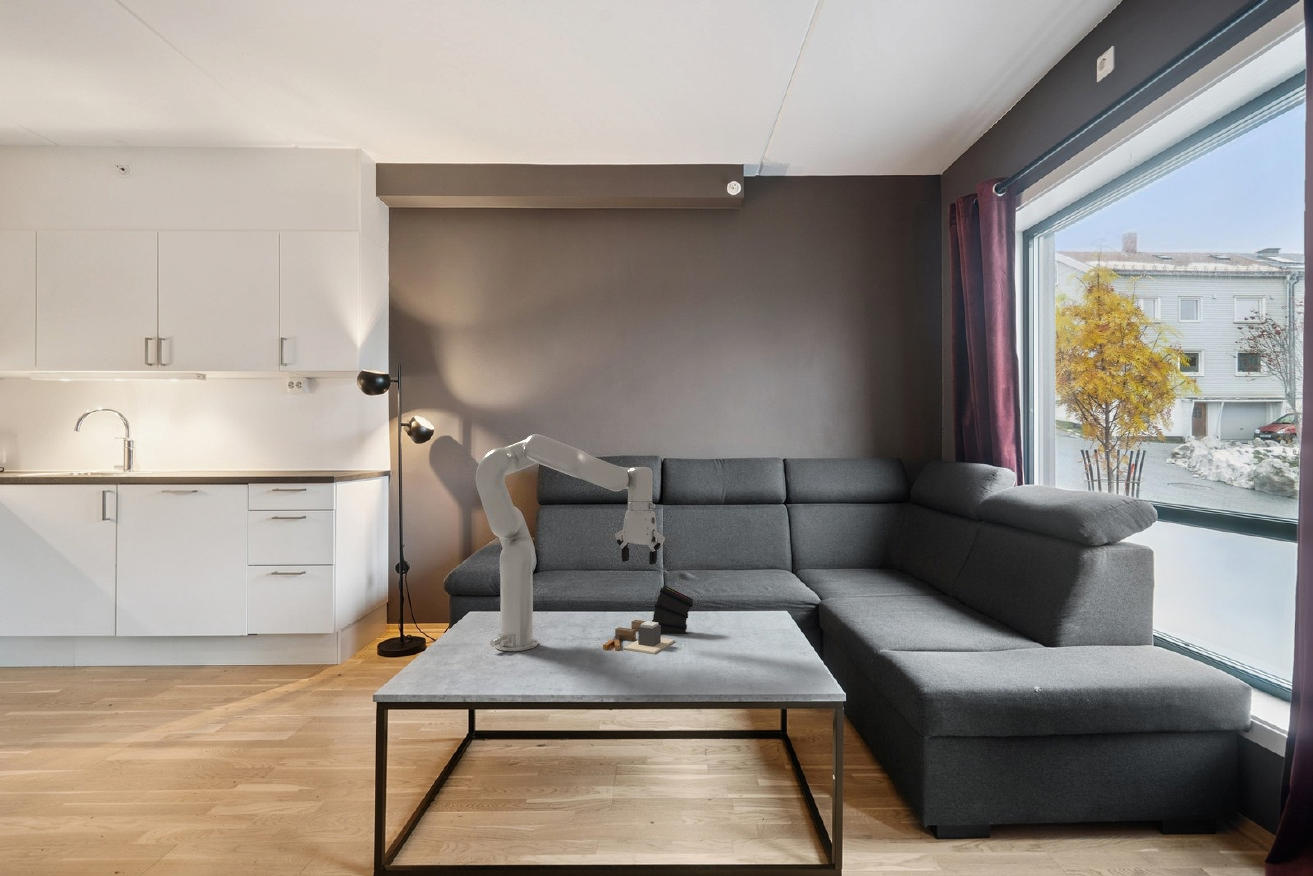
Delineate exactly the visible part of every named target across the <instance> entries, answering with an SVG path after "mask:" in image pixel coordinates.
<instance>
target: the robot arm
mask: <svg viewBox="0 0 1313 876" xmlns="http://www.w3.org/2000/svg"><path fill="white" fill-rule="evenodd" d="M536 464H539V465H542V466H544V467H547V468H550V469H552V470H555V471H557V472H560V473H562V474H565V475H568V476H571V477H572V478H576V479H580V480H584V481H585V482H588V483H591V484H593V485H596V486H599V487H602V488H604V489H607V490H609V491H613V492H620V491H623V490H627V510H626V512H625V515H624V519H623V527H622V529H621V530H619V531H617V532H616V533H614V537H615V539H616V543H617V544H618V546H619V549H621V561H622V562H623V563H624V562H628V561H629V560H630V548H629V545H630V544H631V545H632V544H633V545H643V546H648V548H649V549H650V551H649V554H648V555H649V557H648V558H649V560H648V561H649V563H648V564H649V565H650V566H652V565H655V564H657V561H658V551H659V550H660V548H661V547H662V546H663V544H664V542H665V540H666V537H665V536H664V535H662V534H661V533H660V532H658V530H657V529H658V528H657V518H656V513H655V511H653V509H656V507H657V506H656V504H655V503H653V470H652V468H651V467H647V466H646V467H645V466H633V467H626V466H624V467H623V466H619V465H617V464H613V463H611V462H608V461H605V460H602V459H600V458H597V457H595V456H593V455H590V454H589V453H587V452H585V451H583V450H581V449H579V448H577V447H574V446H572V445H569V444H566V443H564V442H560V441H558V440H555V439H553V438H550V437H548V436H546V435H542V434H538V433H533V434H531V435H529V436H528V437H527V438H526V439H524V440H521V441H519V442H516V443H514V444H513V443H512V445H508V446H505V447H496V448H493V449H492V450H490V451H489V452H487V453H486V454H485V455H484V457H483V458H482V459H481V460H480V461H479V464H478V465H477V468H476V471H475V484H476V485H475V486H476V489H477V492H478V495H479V498H480V501H481V505H482V507H483V511H484V512H485V516H486V519H487V522H488V526H489V529H490V530H491V532H492V533H493V535H494V536H495V537H498V540H499V543H500V545H501V548H502V549H501V551H500V555H499V575H500V585H499V587H500V588H499V589H500V632H499V633H498V637H496V638H494V639H491V640H490V643H489V644H490V646H491V647H495V648H496V649H497V650H500V651H502V652H503V651H505V652H521V651H527V650H530V649H533V648H536V647H537V645H538V643H539V640H538V639H537V638H536V637H533V635H534V634H533V632H534V631H533V630H534V628H533V626H534V622H533V619H534V618H533V617H534V613H533V612H534V609H533V608H534V605H533V604H534V603H533V602H534V601H533V600H534V596H533V595H534V594H533V585H534V584H533V561H534V558H535V555H536V547H535V545H534V542H533V539H532V536H531V534H530V530H529V528H528V525H527V522H526V520H525V517H524V515H523V513H522V512H521V511H522V510H520V509H519V508H518V507H517V506H514V504H513V503H514V502H513V500H512V497H511V495H510V492H509V489H508V487H507V484H506V481H505V480H506V477H507V476H508V475H511V474H513V473H516V472H519V471H521V470H523V469H527V468H528V467H531V466H534V465H536Z"/></svg>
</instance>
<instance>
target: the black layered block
mask: <svg viewBox="0 0 1313 876" xmlns="http://www.w3.org/2000/svg"><path fill="white" fill-rule="evenodd" d="M693 604H694V598H692V597H689V596H688V595H686V594H684V593H682V592H679V591H678V590H675V589H673V588H672V587H670V586H667V585H664V584H663V585H662V587H660V589H659V594H658V597H657V600H656V601H655V603H654V611H653V615H652V616H653V617H652V620H651V622H658V625H661V634H665V635H666V634H668V635H672V634H674V635H675V634H677V635H678V634H679V635H681V634H682V635H686V633H687V632H686V631H687V629H688V624H687V620H688V619H689V611H690V609H691V608H692V607H693V606H694V605H693Z"/></svg>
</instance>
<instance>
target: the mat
mask: <svg viewBox="0 0 1313 876" xmlns="http://www.w3.org/2000/svg"><path fill="white" fill-rule="evenodd" d="M675 642H676V639H673V638H667V637H666V638H665V637H661V642H660V643H659V644H657V645H655V646H654V647H652V646H645V645H638V639H636V641H635V640H634V641H632V642H631V643H630V644H628V645H626V646H624V647H623V651H624V650H625V651H631V652H636V653H637V652H638V653H645V654H651V655H655V654H657V653H658V652H660V651H662V650H663V649H665V648H667V647H668V646H670V645H672V644H673V643H675Z"/></svg>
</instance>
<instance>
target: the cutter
mask: <svg viewBox="0 0 1313 876" xmlns="http://www.w3.org/2000/svg"><path fill="white" fill-rule="evenodd" d="M620 641H622V640H621V636H615V635H614V636H613V638H612V639H611V638H610V640H608V641H607V642H605V643H604V644H602V650H603V651H608V650H610V649H611V648H612V647H614V651H621V649H620V648H621V647H620Z"/></svg>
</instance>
